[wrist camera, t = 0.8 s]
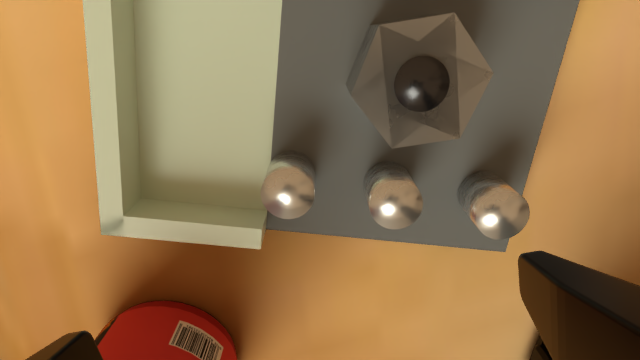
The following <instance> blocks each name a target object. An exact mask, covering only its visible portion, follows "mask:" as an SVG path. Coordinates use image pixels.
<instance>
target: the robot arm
mask: <svg viewBox="0 0 640 360" xmlns="http://www.w3.org/2000/svg"><path fill="white" fill-rule="evenodd" d="M518 269H519V286H520V294H521V297H522V300H523V302H524V304H525V306H526V308H527V310H528V312H529V314H530V316H531V318H532V320H533V322H534V324H535V326H536V328H537V330H538V332H539V334H540V335H539V338H538V340H537V343H536V346H535V348H534V350H533V353H532V356H531V359H530V360H640V286H638V285H635V284H633V283H630V282H627V281H624V280H622V279H619V278H616V277H613V276H610V275H608V274H605V273H602V272H599V271H596V270H594V269H591V268H588V267H585V266H583V265H580V264H577V263H574V262H571V261H569V260H566V259H563V258H560V257H558V256H555V255H552V254H549V253H546V252H544V251H534V252H529V253H523V254H521V255H520V256H519V259H518ZM26 360H103V358H102V356H101V354H100V351H99V349H98V347H97V345H96V343H95V341H94V339H93V337H92V335H91V334H90V333H89V332H87V331H79V332H73V333H68V334H66V335H64V336H62V337H61V338H59V339H58V340H56V341H54V342H53V343H51V344H50V345H48V346H46V347H45V348H43V349H42V350H40V351H38V352H37V353H35V354H34V355H32V356H30V357H29V358H27V359H26Z"/></svg>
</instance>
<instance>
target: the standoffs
mask: <svg viewBox="0 0 640 360" xmlns="http://www.w3.org/2000/svg"><path fill="white" fill-rule="evenodd" d="M363 185H364V191H365V194H366V198H367V202H368V205H369V209H370V213H371V215H372V217H373V219H374V220H375V221H376V222H377V223H378V224H379V225H381V226H382V227H384V228H388V229H402V228H405V227H407V226H409V225H411V224H412V223H414V222H415V221H416V220H417V219H418V217H419V216H420V214H421V212H422V208H423V199H422V195H421V193H420V191H419V190H418V188H417V187H416V185H415V183H414V182H413V180H412V178H411V177H410V175H409V173H408V172H407V170H406V169H405V168H404V167H403V166H402V165H400V164H399V163H396V162H393V161H383V162H380V163H377V164H375V165H374V166H372V167H371V168H370V169H369V170H368V172H367V173H366V175H365V178H364V183H363ZM314 194H315V169H314V166H313V164H312V162H311V161H310V159H309V158H308V157H307V156H305V155H304V154H302V153H299V152H296V151H286V152H283V153H280V154H278V155H277V156H276V157H274V158H273V160H272V161H271V163H270V165H269V167H268V170H267V173H266V176H265V179H264V181H263V184H262V187H261V200H262V203H263V205H264V206H265V208H266V209H267V210H268V211H269V212H270V213H271V214H272V215H274V216H276V217H279V218H282V219H294V218H298V217H300V216H302V215H304V214H305V213H306V212H307V211H308V210H309V209H310V208H311V206H312V204H313V201H314ZM457 199H458V202H459V204H460V206H461V207H462V208H463V210H464V211H465V212H466V213H467V215H468V216H469V217H470V219H471V220H472V221H473V222H474V224H475V225H476V226H477V228H478V229H479V230H480V231H481V232H482V233H483V234H484V235H485V236H487V237H489V238H492V239H499V240H500V239H507V238H510V237H512V236H514V235H516V234H517V233H519V232H520V231H521V230H522V229H523V228H524V227H525V225H526V223H527V221H528V219H529V213H530V211H529V206H528V203H527V201H526V200H525V199H524V198H523V197H522V196H521V195H520V194H519V193H517V192H516V191H515V190H514V189H513V188H511V187H510V186H509V185H508V184H507V183H506V182H504V181H503V180H502V179H501V178H500V177H498V176H497V175H496V174H494V173H492V172H489V171H478V172H475V173H472V174H470V175H469V176H467V177H466V178H465V179H464V180H463V181H462V182H461V184H460V186H459V188H458V192H457Z"/></svg>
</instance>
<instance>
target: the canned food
mask: <svg viewBox="0 0 640 360" xmlns="http://www.w3.org/2000/svg"><path fill="white" fill-rule="evenodd" d="M94 341H95V343H96V345H97V347H98V349H99V351H100V354H101V356H102V358H103V360H237V357H236V350H235V346H234V343H233V341H232V338H231V336H230V335H229V333H228V332H227V330H226V329H225V328H224V327H223V326H222V325H221V324H220V323H219V322H218V321H217V320H216V319H215V318H213V317H212V316H211V315H209V314H208V313H206V312H204V311H202V310H200V309H198V308H196V307H194V306H190V305H187V304H184V303H180V302H173V301H151V302H146V303H141V304H138V305H136V306H133V307H131V308H129V309H127V310H126V311H124V312H123V313H121V314H120V315H118V316H117V317H115V318H114V319H112V320H111V321H110V322H109V323H108V324H107V325H106V326H105V327H104V328H103V329H102V331H101V332H100V333H99V335H98V336H97V338H96V339H95V340H94Z"/></svg>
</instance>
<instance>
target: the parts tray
mask: <svg viewBox="0 0 640 360" xmlns="http://www.w3.org/2000/svg"><path fill="white" fill-rule="evenodd" d="M83 10H84V23H85V36H86V48H87V61H88V74H89V86H90V99H91V112H92V125H93V137H94V150H95V163H96V175H97V188H98V201H99V213H100V226H101V235H111V236H122V237H133V238H143V239H154V240H165V241H175V242H186V243H197V244H207V245H218V246H229V247H239V248H250V249H261V246H262V242H263V239H264V235H265V231H266V221H267V209H266V208H265V206H264V205H263V203H262V200H261V187H262V184H263V181H264V179H265V176H266V173H267V170H268V167H269V165H270V163H271V151H272V137H273V123H274V109H275V95H276V81H277V67H278V53H279V39H280V25H281V11H282V0H83Z"/></svg>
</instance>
